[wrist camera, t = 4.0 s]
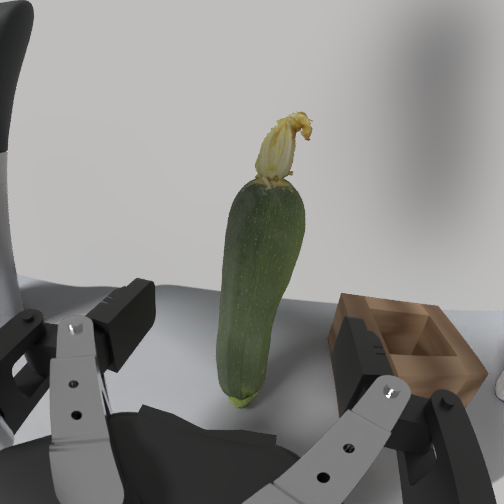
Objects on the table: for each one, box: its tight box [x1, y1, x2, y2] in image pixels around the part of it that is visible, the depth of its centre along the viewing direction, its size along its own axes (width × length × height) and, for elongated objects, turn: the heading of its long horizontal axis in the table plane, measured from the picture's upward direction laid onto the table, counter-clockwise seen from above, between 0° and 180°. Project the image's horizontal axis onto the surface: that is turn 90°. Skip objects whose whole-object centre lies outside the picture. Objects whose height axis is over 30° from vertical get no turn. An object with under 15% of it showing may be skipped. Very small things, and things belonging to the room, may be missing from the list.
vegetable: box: [216, 112, 312, 408], centre depth 17 cm, size 4×4×20 cm
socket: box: [328, 293, 489, 419], centre depth 22 cm, size 12×12×6 cm
